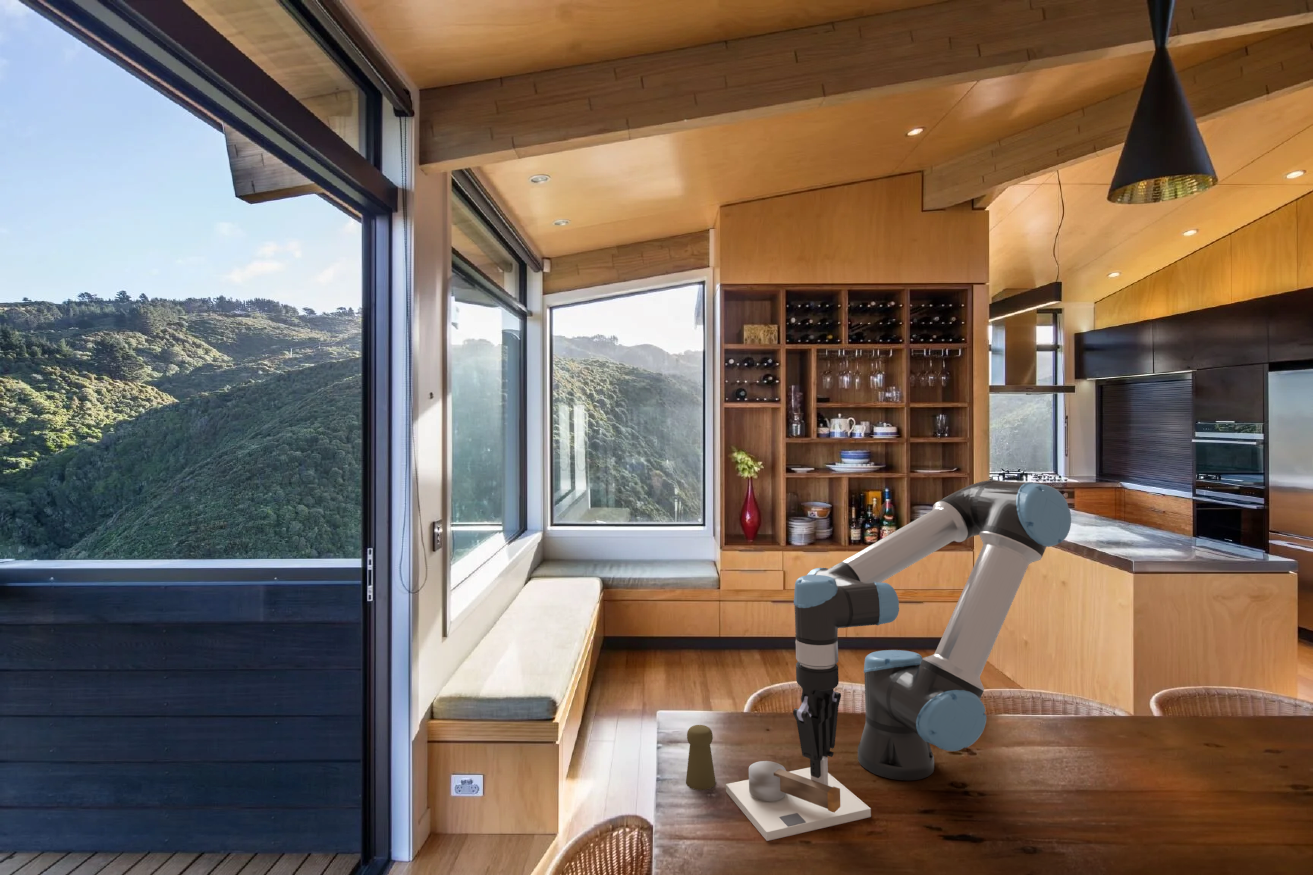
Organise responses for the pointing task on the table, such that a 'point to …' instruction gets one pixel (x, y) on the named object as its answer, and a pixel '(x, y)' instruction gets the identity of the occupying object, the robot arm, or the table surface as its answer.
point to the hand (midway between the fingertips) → (819, 791)
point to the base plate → (795, 810)
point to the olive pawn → (700, 758)
